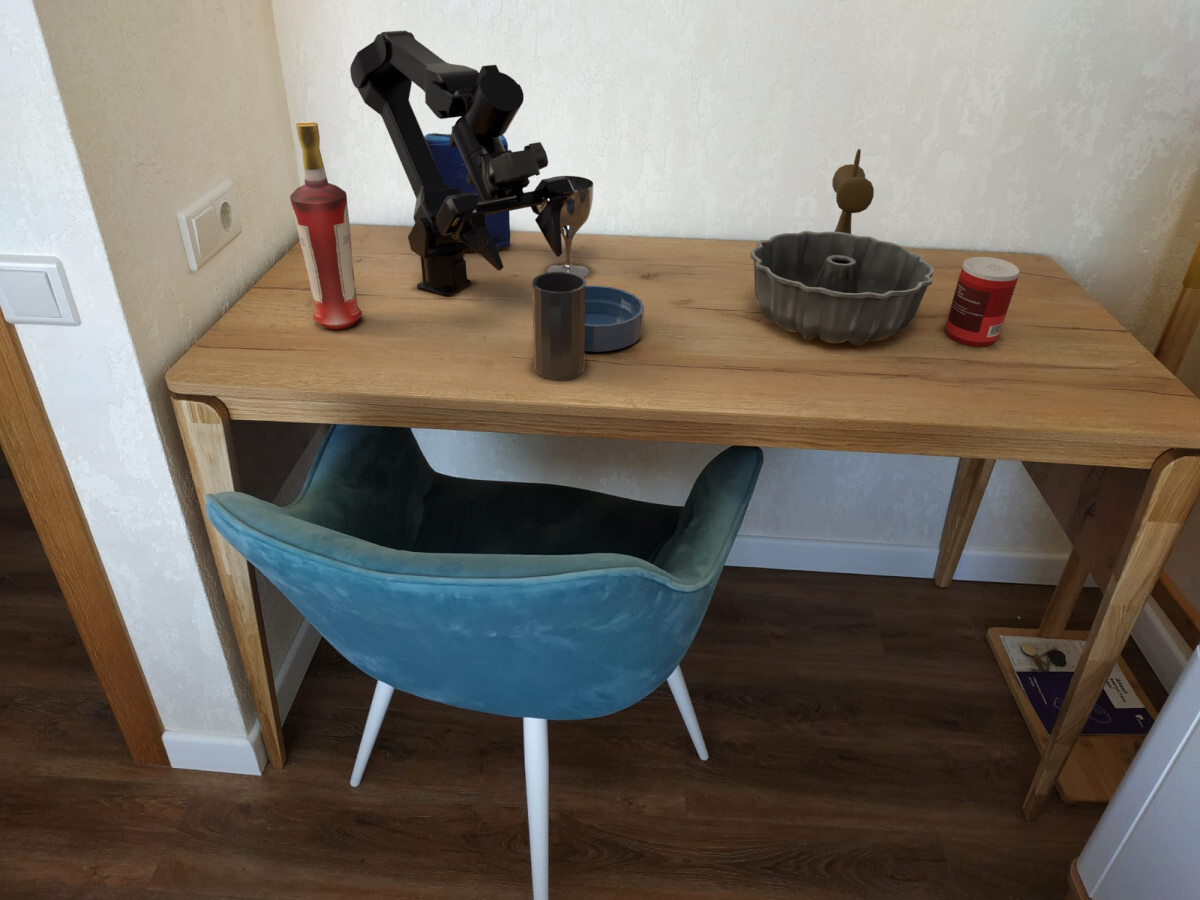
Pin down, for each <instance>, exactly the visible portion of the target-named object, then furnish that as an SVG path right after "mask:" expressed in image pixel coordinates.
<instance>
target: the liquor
mask: <svg viewBox="0 0 1200 900" xmlns="http://www.w3.org/2000/svg"><path fill="white" fill-rule="evenodd" d="M295 126H296V132H297V137H298V138H297V139H298V142H299V144H300V147H301V153H302V167H303V177H304V179H303V180H304V184H303V185H301V186H299V187H297V188H296V189H295V190H294V191H293V192H292V193H291V194H290V196H289V199H290V203H291V207H292V212H293V216H294V221H295V225H296V231H297V235H298V239H299V243H300V247H301V251H302V255H303V259H304V263H305V267H306V272H307V276H308V281H309V285H310V290H311V295H312V301H313V305H314V310H315V311H314V314H313V317H312V319H313V320H314V321H315V322H317V323H318V324H320V326H323V327H324V328H326V329H328V330H335V331H336V330H345V329H348V328H350V327H352V326H353V325H355V323H356V322H358V320H359V319H360V318H361V316H362V315H363V311H362V309H360V307H359V306H358V297H357V296H358V295H357V290H356V289H357V288H356V281H355V271H354V261H353V251H352V249H353V248H352V238H351V237H352V236H351V235H352V233H351V226H350V225H351V224H350V215H349V208H348V207H349V205H348V196H347V192H346V190H344V189H342V188H341V187H339V186H338V185H336V184H333V183H329V181H328V176H327V173H326V169H325V165H324V161H323V157H322V153H321V149H320V145H321V143H320V142H321V138H320V137H321V136H320V131H319V124H318V122H315V121H302V122H301V121H300V122H298V123H296V124H295Z"/></svg>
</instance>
